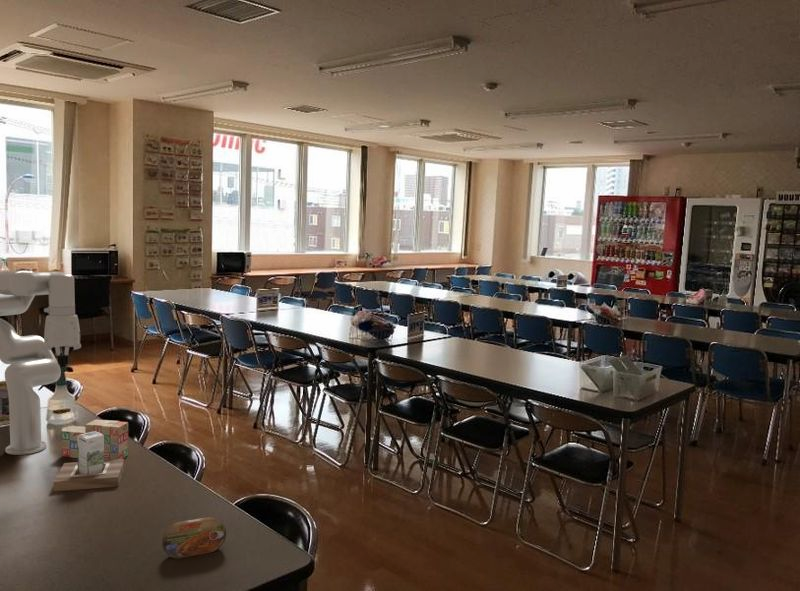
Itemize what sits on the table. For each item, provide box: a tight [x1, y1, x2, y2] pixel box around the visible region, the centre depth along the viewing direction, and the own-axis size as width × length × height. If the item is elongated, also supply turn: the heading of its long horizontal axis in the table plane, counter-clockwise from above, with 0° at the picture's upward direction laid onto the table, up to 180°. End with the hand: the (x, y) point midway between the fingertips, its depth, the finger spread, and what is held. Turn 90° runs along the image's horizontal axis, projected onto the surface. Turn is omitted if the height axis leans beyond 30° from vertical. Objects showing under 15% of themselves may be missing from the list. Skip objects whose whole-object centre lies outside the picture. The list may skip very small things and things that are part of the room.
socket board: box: [52, 458, 125, 492], centre depth 205 cm, size 16×18×3 cm
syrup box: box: [77, 431, 104, 475], centre depth 205 cm, size 6×6×14 cm
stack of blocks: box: [60, 419, 129, 460], centre depth 225 cm, size 21×6×12 cm, turn 81°
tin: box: [161, 516, 227, 559], centre depth 161 cm, size 15×3×8 cm, turn 114°
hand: (63, 366), depth 214 cm, fingers closed
